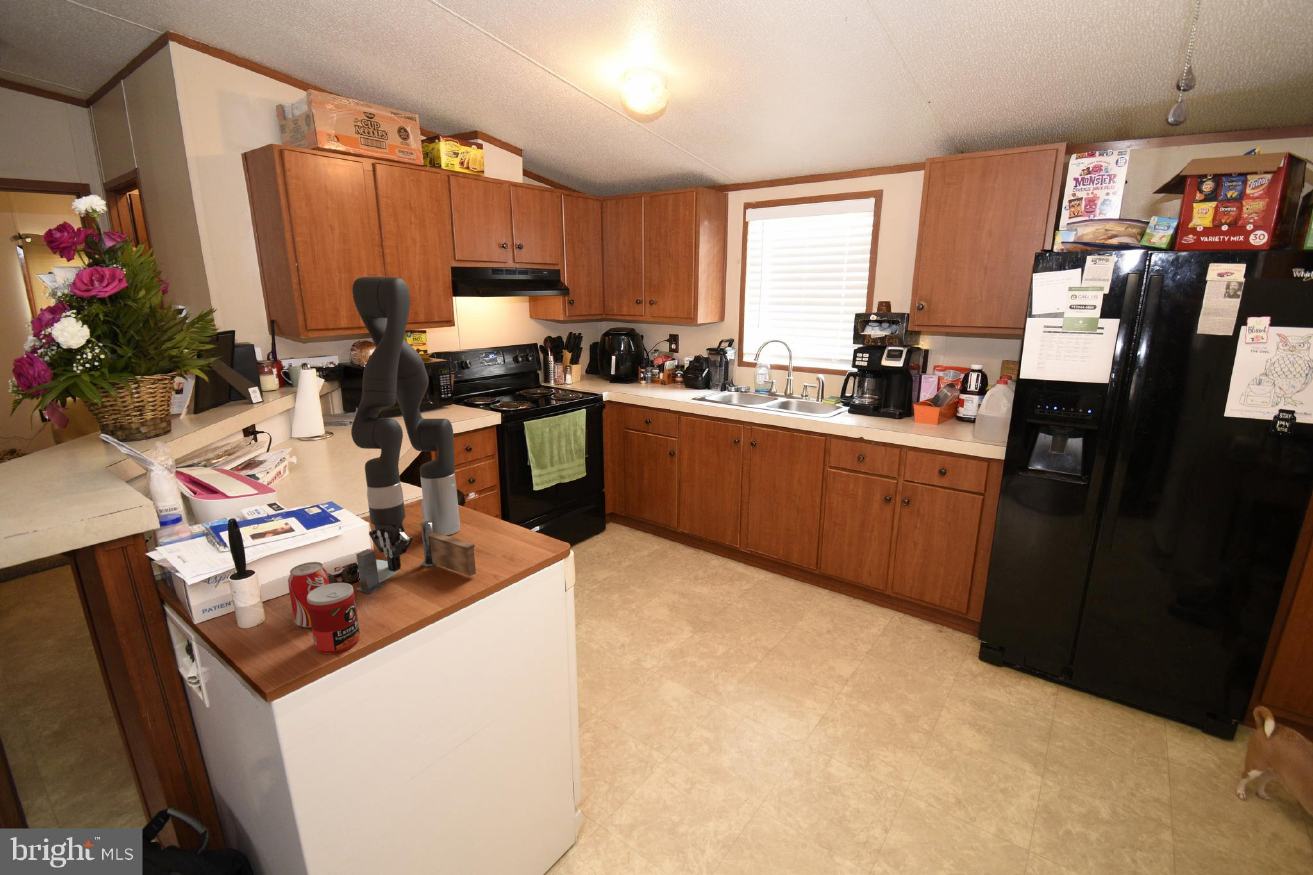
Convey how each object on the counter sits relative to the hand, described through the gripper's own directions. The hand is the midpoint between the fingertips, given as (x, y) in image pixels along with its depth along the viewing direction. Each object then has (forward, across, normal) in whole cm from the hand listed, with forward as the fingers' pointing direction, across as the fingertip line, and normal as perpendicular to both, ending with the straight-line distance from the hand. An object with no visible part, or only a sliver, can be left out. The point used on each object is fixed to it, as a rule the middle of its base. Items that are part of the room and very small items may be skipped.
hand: (394, 569), depth 136 cm
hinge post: (+2, -2, -9) cm, 9 cm away
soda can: (+2, -2, +21) cm, 21 cm away
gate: (+1, -11, -8) cm, 14 cm away
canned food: (+2, -14, +24) cm, 28 cm away
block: (+2, +4, +2) cm, 5 cm away
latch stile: (+2, 0, +6) cm, 7 cm away
